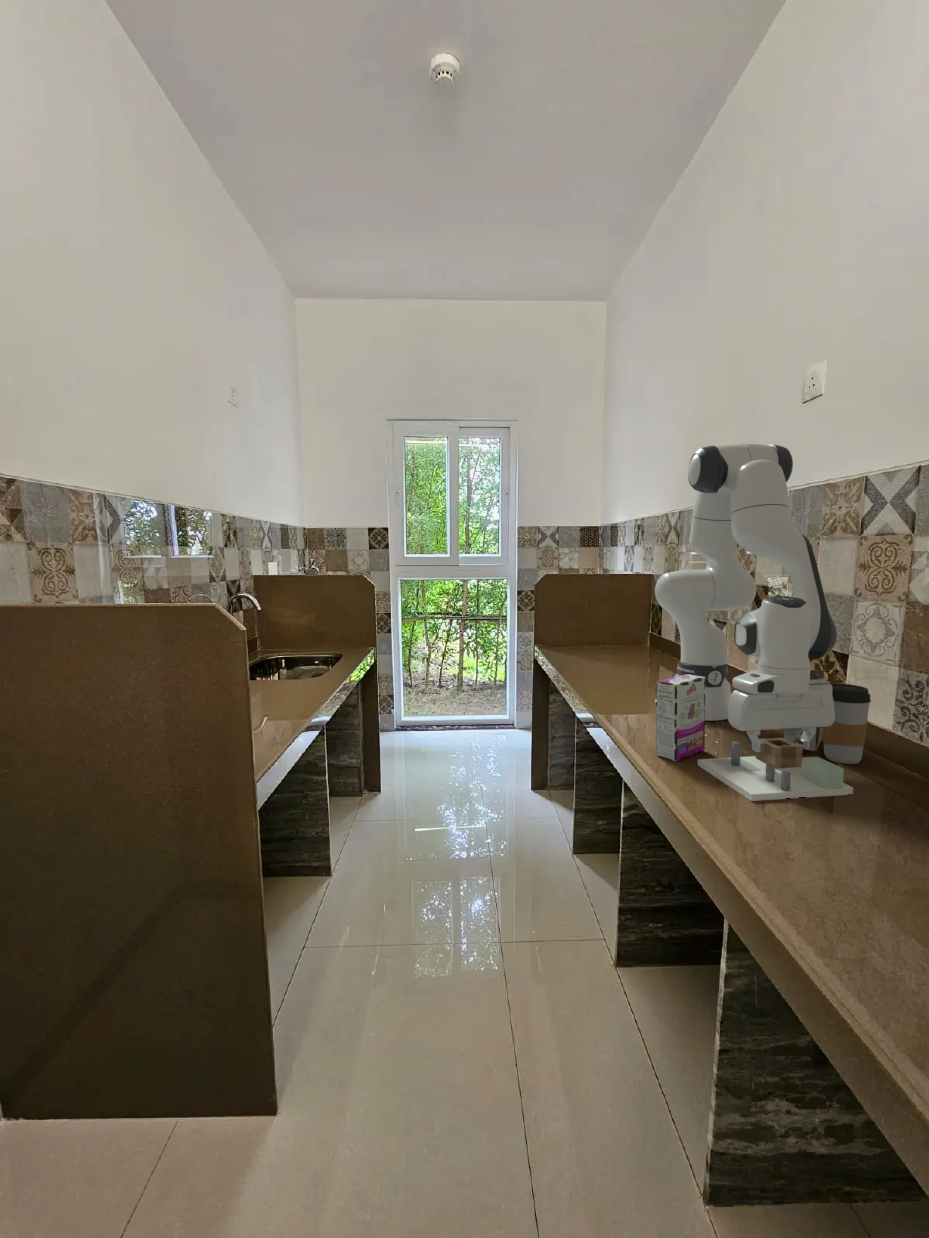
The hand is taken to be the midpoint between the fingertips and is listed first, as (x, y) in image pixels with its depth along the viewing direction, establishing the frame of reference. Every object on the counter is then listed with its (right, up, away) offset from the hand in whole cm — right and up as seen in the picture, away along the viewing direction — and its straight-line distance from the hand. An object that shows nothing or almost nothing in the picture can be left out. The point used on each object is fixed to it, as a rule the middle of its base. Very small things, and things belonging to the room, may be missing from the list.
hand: (780, 749), depth 106 cm
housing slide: (+2, -4, -9) cm, 10 cm away
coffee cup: (+16, -3, +6) cm, 17 cm away
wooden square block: (0, -3, +1) cm, 3 cm away
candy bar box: (-16, -4, +10) cm, 19 cm away
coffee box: (+14, -3, +15) cm, 21 cm away
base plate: (-5, -4, -4) cm, 8 cm away
